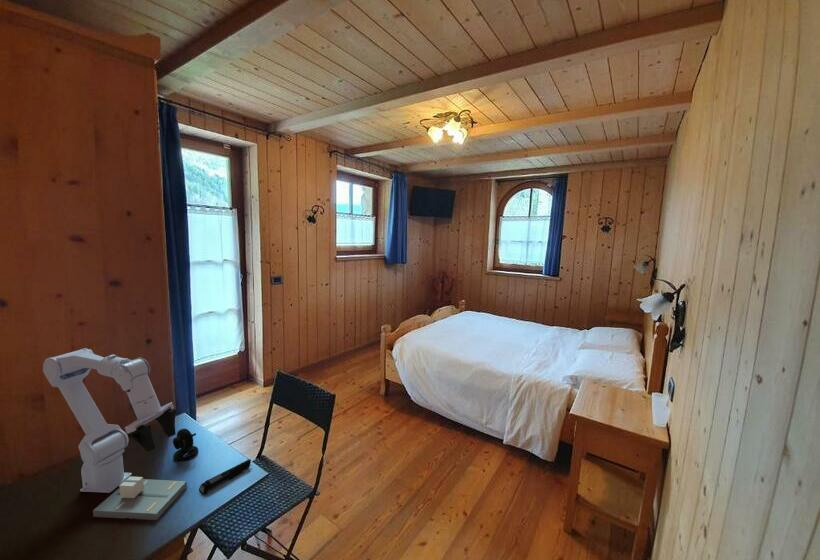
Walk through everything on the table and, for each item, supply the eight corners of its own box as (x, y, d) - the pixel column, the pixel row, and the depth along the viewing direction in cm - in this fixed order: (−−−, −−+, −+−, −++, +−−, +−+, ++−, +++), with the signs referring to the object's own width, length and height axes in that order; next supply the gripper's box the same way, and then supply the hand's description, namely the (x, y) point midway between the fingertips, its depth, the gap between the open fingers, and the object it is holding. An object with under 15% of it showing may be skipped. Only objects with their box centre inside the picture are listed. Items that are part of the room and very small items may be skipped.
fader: (120, 497, 95) (119, 484, 94) (130, 488, 98) (129, 476, 98) (134, 498, 95) (132, 485, 94) (144, 489, 98) (143, 476, 98)
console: (93, 516, 91) (92, 510, 91) (131, 484, 103) (130, 478, 103) (156, 520, 91) (156, 513, 90) (186, 486, 102) (186, 480, 102)
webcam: (168, 457, 115) (166, 431, 114) (190, 445, 122) (189, 421, 120) (180, 465, 112) (179, 438, 110) (203, 452, 118) (201, 427, 117)
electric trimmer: (253, 469, 112) (253, 461, 111) (203, 497, 99) (202, 487, 99) (247, 464, 114) (247, 456, 113) (198, 490, 101) (197, 481, 101)
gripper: (134, 406, 87) (153, 452, 88) (175, 386, 102) (191, 425, 102) (111, 415, 87) (130, 461, 88) (155, 393, 102) (171, 433, 102)
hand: (162, 442), depth 95 cm, fingers open, 7 cm apart
